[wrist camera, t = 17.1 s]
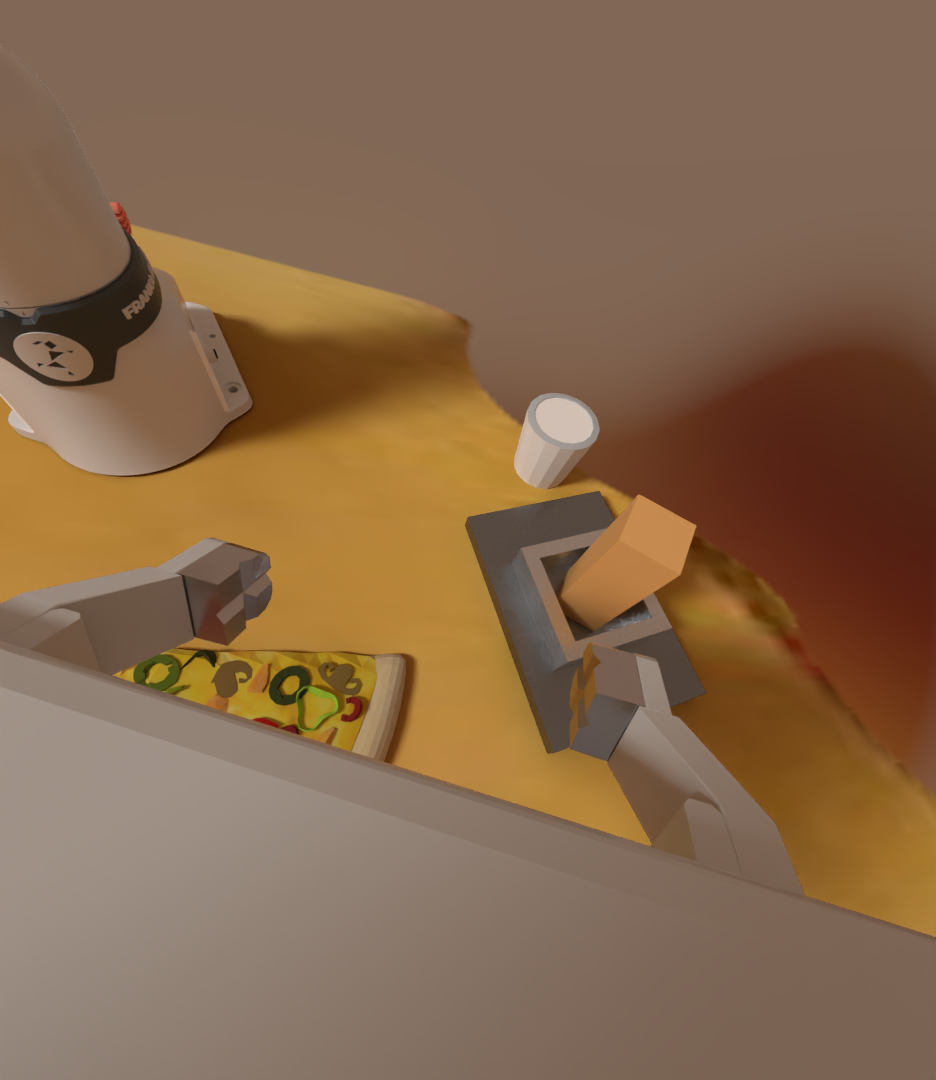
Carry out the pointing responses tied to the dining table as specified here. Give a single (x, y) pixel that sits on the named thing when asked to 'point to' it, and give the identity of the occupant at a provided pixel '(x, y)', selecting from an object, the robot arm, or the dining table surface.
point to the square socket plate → (536, 616)
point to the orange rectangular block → (626, 563)
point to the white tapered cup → (554, 439)
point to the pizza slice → (290, 691)
